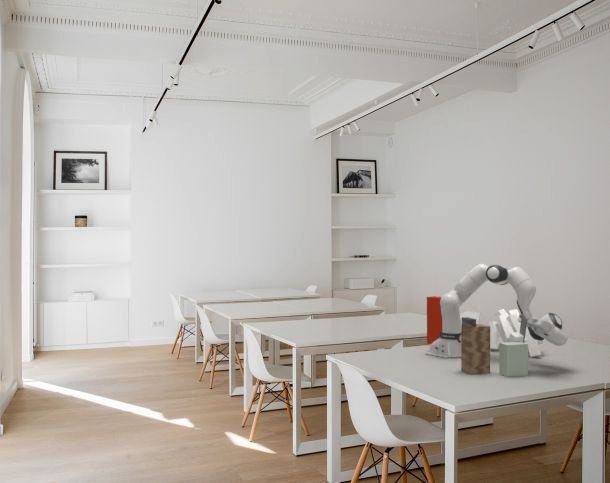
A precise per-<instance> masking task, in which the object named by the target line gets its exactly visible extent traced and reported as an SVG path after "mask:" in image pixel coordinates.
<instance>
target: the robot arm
mask: <svg viewBox="0 0 610 483" xmlns="http://www.w3.org/2000/svg"><path fill="white" fill-rule="evenodd" d="M488 281H489V282H491V283H493V284H495V285H500V286H505V285H508V284H510V286H511V287H512V289H513V290H514V291H515V293H516V297H517V298H516V304H517V308H518V311H519V312H520V313H519V318H518V322H520V323H521V318H522V314H526V316H525V319H527V327H528V331H529V333H530V335H531V337H532V338H533V339H535V340H540V341H542V340H543V341H544V340H546V341H547V342H549V343H550V344H552V345H554V346H557V347H561V346H564V345H565V344H566V343H567V341H568V340H569V337H568V334H567V333H566V332H565V331H564V329H563V319H561V317H560V316H559V315H557V314H556V313H554V312H548V313H547V314H545V315H544V316H543V317H541V318H536V317H534V316H533V314H532V313H531V310H530V306H531V302H532V300H533V299H534V297H535V296H536V293H537V286H536V284H535V282H534V281H533V280H532V279H531V277H530V276H529V274H528V273H527V272H526V271H525V270H524V269H523V268H521V267H520V266H515V267H511V268H506V267H505V266H504V265H503V266H502V265H499V264H492V265H489V266H488V265H487V264H485V263H478V264H477V265H476V266H474V267H473V268H472V269H470V270H469V271H468V272H467V273H466V274H465V275H464V276H463V277H462V278H461V279H460V280H458V282H457V283H456V284H455V285H454V286H453V287H452V288H451V289H450V290H449V291H448V292H447V293H444V294H443V295H442V296H440V297H441V299H440V305H441V313H442V332H441V333H439V335H440V338H438V339H437V340H436V341H434V342H433V343H432V344H430V346H429V350H427V351H426V353H425V354H426V355H428V356H433V357H434V356H435V357H440V358H445V359H447V358H461V325H462V318H461V315H460V307H461V306H462V305H463V304H465V302H466V301H467V300H469V298H470V297H471V296H472V295H473V294H474V293H475V292H476V291H477V290H478V289H480V288H481V287H482V286H483V285H484V284H485V283H486V282H488ZM533 317H534V318H533Z"/></svg>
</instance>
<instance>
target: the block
mask: <svg viewBox="0 0 610 483" xmlns="http://www.w3.org/2000/svg"><path fill="white" fill-rule="evenodd" d="M498 352H499V353H498V355H499V356H498V357H499V358H498V361H499V362H498V363H499V364H498V367H499V369H498V370H499V371H498V374H499V375H501V376H504V377H506V378H510V377H521V376H522V377H523V376H525V377H526V376H529V349H528V344H526V343H522V342H506V343H504V342H498Z"/></svg>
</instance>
